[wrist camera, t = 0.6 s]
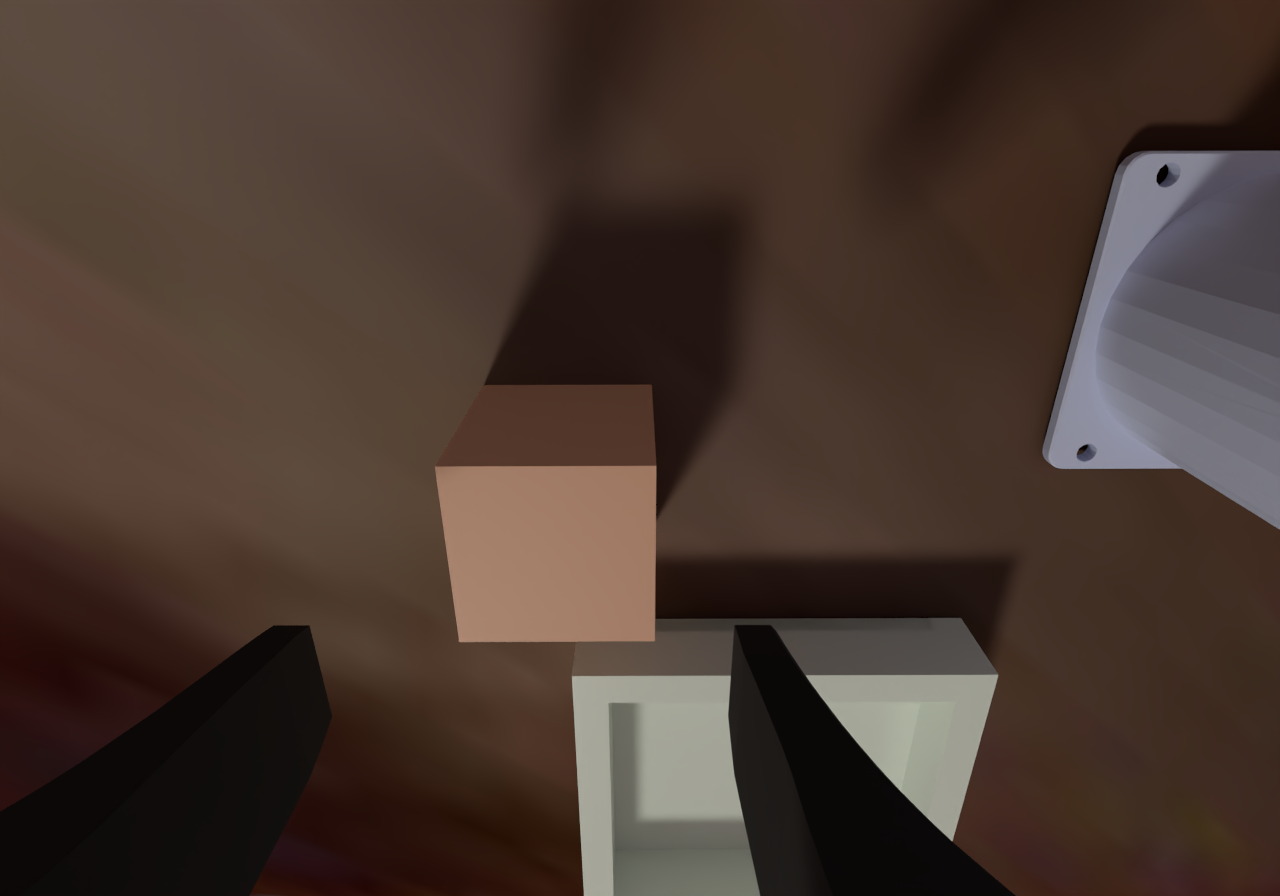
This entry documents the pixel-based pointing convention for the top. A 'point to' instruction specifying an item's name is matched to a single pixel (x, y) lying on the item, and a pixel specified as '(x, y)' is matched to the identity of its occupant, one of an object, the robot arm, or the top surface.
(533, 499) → the block
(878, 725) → the tray
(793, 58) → the top surface
